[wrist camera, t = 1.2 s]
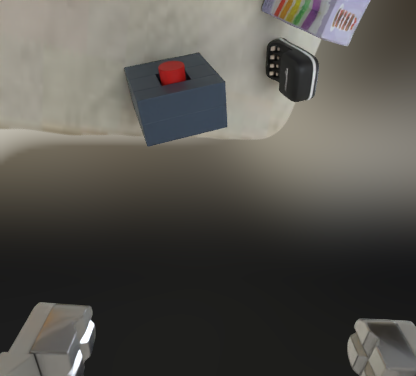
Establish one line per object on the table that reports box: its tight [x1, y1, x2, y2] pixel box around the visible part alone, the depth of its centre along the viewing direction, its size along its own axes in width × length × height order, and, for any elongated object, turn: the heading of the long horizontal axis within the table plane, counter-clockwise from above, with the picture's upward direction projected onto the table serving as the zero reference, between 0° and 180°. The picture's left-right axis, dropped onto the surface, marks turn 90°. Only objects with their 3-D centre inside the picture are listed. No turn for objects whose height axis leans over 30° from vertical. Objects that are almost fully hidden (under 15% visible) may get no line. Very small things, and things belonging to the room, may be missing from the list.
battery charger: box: [266, 38, 319, 102], centre depth 54 cm, size 7×4×11 cm, turn 4°
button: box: [158, 61, 186, 86], centre depth 47 cm, size 3×4×4 cm
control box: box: [124, 53, 227, 146], centre depth 50 cm, size 7×12×12 cm, turn 95°
